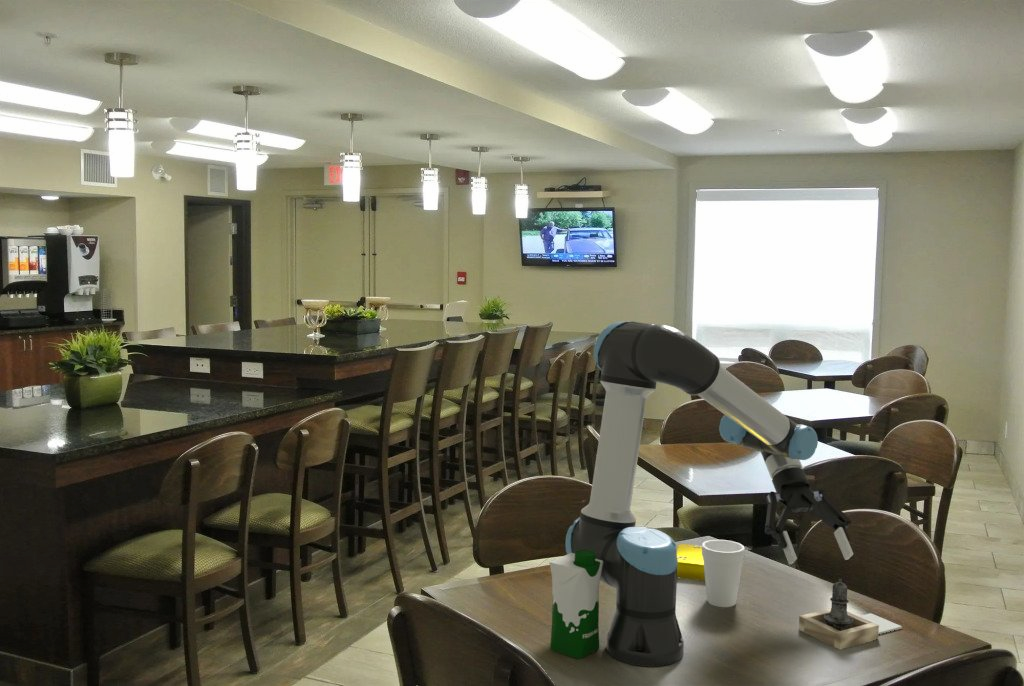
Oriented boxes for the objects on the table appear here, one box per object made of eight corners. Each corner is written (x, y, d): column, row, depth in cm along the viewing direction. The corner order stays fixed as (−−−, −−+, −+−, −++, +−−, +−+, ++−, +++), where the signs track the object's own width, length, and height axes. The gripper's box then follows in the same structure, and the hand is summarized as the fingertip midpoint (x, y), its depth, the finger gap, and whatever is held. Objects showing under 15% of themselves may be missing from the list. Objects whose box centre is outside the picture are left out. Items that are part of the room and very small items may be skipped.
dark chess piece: (855, 641, 184) (857, 584, 183) (825, 639, 186) (827, 582, 184) (850, 630, 190) (853, 574, 189) (821, 627, 191) (823, 572, 190)
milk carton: (580, 662, 174) (582, 561, 172) (543, 649, 179) (544, 551, 177) (605, 647, 180) (607, 550, 179) (569, 635, 186) (570, 540, 184)
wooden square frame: (840, 649, 180) (840, 635, 180) (798, 629, 190) (799, 615, 190) (878, 639, 186) (878, 625, 185) (836, 620, 195) (836, 606, 195)
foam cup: (732, 613, 199) (733, 555, 198) (693, 603, 204) (695, 547, 203) (749, 600, 206) (751, 544, 205) (711, 591, 212) (713, 537, 211)
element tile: (736, 565, 231) (737, 547, 231) (733, 585, 217) (733, 565, 217) (677, 559, 236) (678, 541, 235) (670, 578, 221) (670, 559, 221)
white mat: (875, 635, 187) (875, 633, 187) (844, 621, 194) (844, 619, 194) (901, 628, 191) (901, 626, 191) (870, 615, 198) (870, 613, 198)
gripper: (828, 480, 214) (864, 562, 201) (731, 485, 208) (762, 571, 195) (842, 463, 208) (880, 547, 195) (743, 468, 202) (775, 555, 189)
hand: (821, 559), depth 195 cm, fingers open, 13 cm apart
